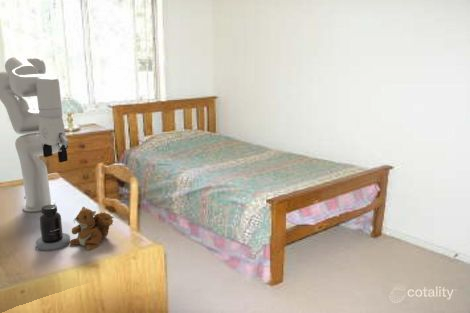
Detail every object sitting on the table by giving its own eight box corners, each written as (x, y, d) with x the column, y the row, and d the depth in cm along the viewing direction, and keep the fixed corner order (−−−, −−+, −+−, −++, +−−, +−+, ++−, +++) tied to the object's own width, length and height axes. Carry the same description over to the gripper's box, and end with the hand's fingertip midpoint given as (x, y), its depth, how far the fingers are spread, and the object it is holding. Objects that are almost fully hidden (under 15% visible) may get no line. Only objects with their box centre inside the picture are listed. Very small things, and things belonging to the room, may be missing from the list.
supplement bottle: (55, 244, 144) (51, 211, 141) (37, 242, 146) (33, 210, 143) (67, 235, 151) (63, 204, 148) (50, 234, 152) (45, 202, 149)
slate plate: (29, 245, 147) (29, 241, 147) (58, 234, 156) (58, 230, 156) (48, 254, 141) (47, 249, 141) (76, 241, 150) (76, 237, 149)
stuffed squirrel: (67, 245, 147) (62, 209, 144) (102, 231, 158) (98, 197, 155) (83, 253, 141) (79, 216, 138) (119, 238, 152) (115, 203, 149)
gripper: (27, 110, 153) (33, 156, 158) (54, 117, 143) (59, 166, 148) (47, 108, 159) (52, 152, 164) (74, 114, 149) (78, 161, 154)
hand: (55, 158), depth 156 cm, fingers open, 9 cm apart
